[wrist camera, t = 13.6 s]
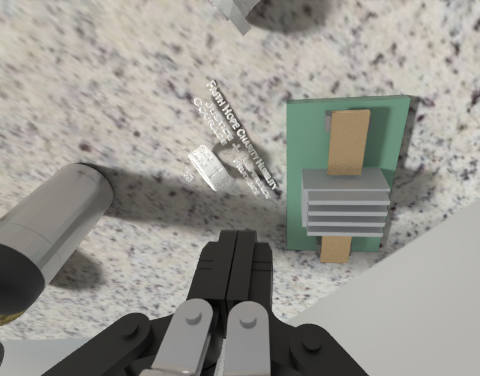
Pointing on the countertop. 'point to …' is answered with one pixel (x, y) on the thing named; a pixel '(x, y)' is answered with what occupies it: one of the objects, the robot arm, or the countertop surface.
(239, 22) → the mechanical component
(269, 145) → the countertop surface
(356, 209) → the board
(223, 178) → the wide band ring
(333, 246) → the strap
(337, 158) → the wooden block
